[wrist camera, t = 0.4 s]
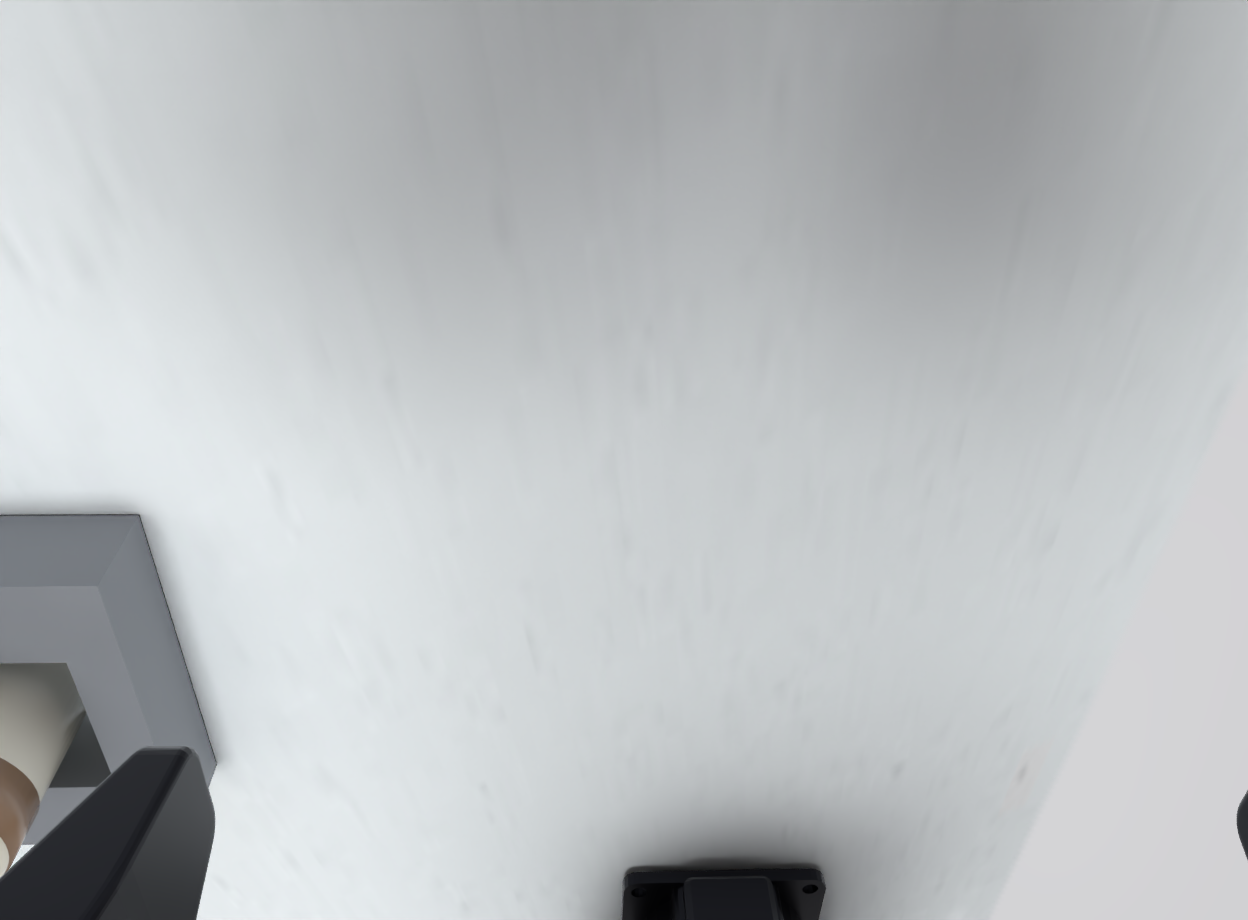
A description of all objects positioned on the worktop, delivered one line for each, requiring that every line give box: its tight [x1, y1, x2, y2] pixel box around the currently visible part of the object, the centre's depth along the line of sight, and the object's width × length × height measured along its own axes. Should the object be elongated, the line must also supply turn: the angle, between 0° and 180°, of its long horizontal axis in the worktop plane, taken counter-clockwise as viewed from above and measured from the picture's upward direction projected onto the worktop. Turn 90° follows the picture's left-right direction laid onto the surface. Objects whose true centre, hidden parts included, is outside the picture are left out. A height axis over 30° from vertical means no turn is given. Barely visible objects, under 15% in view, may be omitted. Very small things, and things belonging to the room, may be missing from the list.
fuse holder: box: [0, 515, 217, 845], centre depth 25 cm, size 9×7×2 cm
